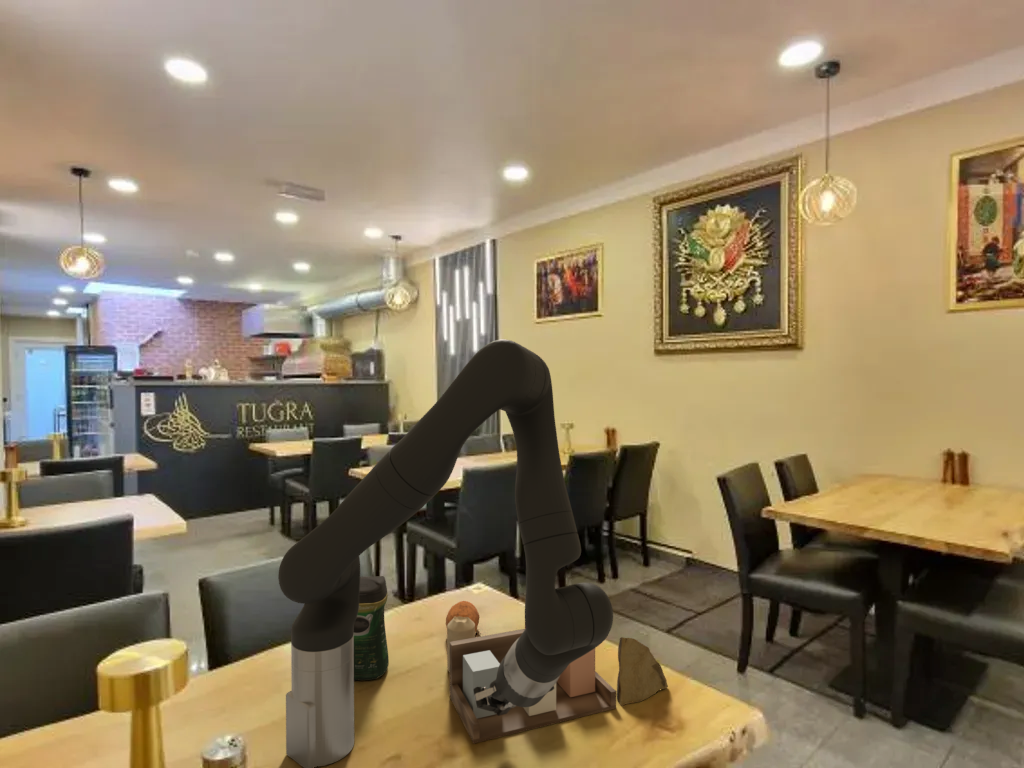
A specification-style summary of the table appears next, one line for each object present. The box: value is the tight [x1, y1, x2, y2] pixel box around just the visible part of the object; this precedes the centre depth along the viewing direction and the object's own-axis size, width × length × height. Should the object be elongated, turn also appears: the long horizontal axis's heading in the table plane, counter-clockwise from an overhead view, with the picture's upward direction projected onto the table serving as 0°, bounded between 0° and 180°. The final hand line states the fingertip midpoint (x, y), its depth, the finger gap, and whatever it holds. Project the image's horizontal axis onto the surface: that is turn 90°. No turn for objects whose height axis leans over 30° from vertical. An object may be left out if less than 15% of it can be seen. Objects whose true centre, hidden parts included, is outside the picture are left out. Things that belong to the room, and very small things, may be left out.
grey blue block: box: [463, 650, 500, 718], centre depth 100 cm, size 6×5×8 cm
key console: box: [449, 628, 617, 744], centre depth 102 cm, size 14×26×10 cm, turn 112°
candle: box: [446, 616, 476, 673], centre depth 114 cm, size 6×6×10 cm
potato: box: [445, 600, 480, 634], centre depth 129 cm, size 7×13×7 cm, turn 176°
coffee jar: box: [354, 575, 389, 681], centre depth 113 cm, size 10×8×19 cm
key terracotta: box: [557, 648, 596, 697], centre depth 106 cm, size 6×5×8 cm
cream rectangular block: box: [523, 683, 556, 716], centre depth 101 cm, size 6×5×8 cm
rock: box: [616, 636, 669, 707], centre depth 105 cm, size 11×9×10 cm
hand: (499, 708), depth 92 cm, fingers closed
